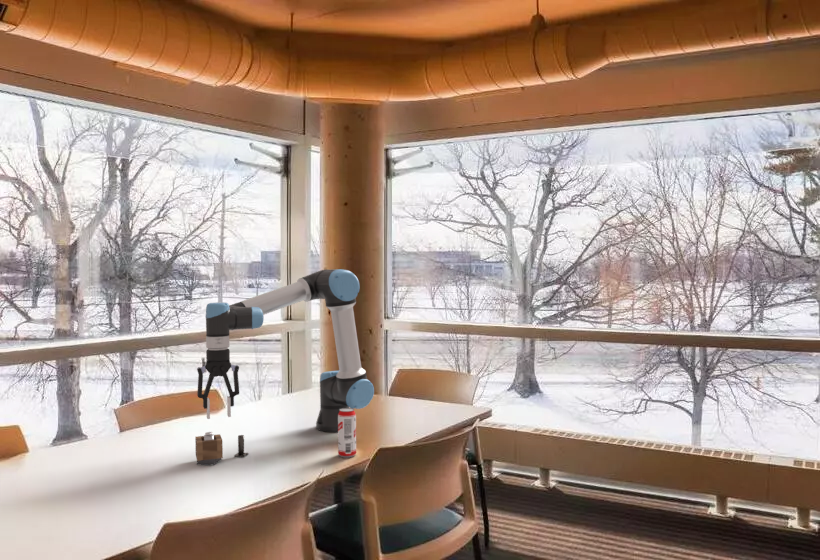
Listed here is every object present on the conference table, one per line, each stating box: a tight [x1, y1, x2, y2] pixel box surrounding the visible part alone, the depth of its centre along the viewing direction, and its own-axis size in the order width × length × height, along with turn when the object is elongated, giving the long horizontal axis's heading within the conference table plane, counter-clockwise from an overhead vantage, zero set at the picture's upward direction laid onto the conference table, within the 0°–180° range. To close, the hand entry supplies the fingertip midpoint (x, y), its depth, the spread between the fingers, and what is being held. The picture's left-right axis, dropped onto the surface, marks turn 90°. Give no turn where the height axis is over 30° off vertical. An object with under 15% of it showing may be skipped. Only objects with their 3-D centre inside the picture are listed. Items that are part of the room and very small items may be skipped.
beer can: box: [337, 407, 357, 459], centre depth 225 cm, size 6×6×16 cm
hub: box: [196, 431, 223, 466], centre depth 219 cm, size 6×6×10 cm
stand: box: [233, 434, 249, 458], centre depth 226 cm, size 4×4×7 cm
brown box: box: [195, 433, 224, 462], centre depth 219 cm, size 8×8×6 cm
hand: (218, 416), depth 220 cm, fingers open, 6 cm apart
